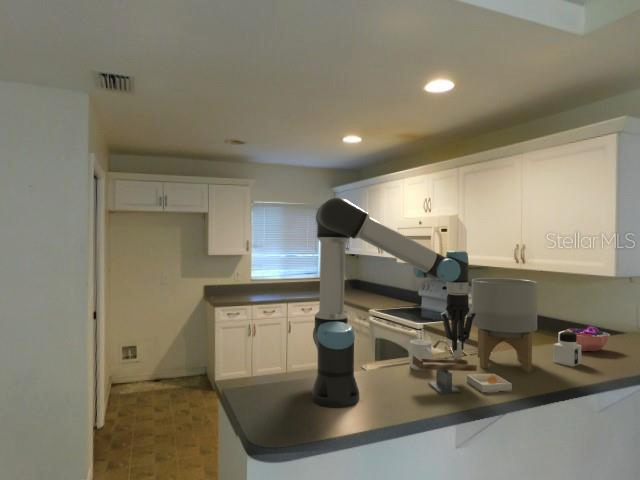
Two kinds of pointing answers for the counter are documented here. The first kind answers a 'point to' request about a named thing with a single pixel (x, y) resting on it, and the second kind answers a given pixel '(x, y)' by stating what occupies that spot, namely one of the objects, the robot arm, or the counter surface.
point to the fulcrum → (444, 383)
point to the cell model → (590, 338)
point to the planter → (505, 316)
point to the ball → (492, 379)
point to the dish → (482, 384)
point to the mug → (420, 351)
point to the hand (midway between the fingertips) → (457, 358)
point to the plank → (443, 364)
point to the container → (567, 349)
